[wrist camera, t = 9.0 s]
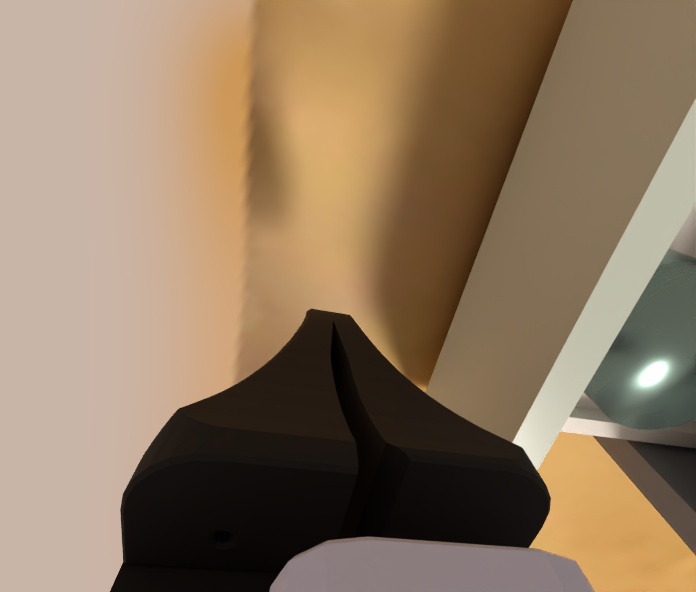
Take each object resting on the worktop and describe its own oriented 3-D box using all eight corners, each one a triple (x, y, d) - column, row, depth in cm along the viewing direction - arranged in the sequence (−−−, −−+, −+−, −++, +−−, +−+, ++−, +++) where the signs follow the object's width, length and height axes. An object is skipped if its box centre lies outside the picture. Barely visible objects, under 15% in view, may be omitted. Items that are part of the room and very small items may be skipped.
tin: (625, 373, 16) (706, 438, 12) (508, 354, 15) (562, 419, 12) (701, 252, 14) (823, 293, 10) (570, 222, 13) (658, 256, 9)
